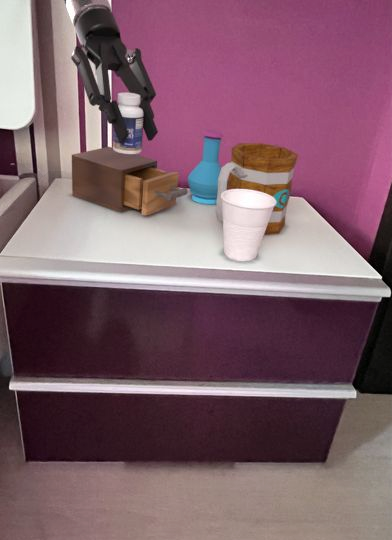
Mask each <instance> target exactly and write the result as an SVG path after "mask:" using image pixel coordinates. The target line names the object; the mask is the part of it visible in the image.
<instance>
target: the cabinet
mask: <svg viewBox="0 0 392 540" xmlns="http://www.w3.org/2000/svg"><path fill="white" fill-rule="evenodd" d="M148 167H153V168H156V169H158V160H155V159H152V158H148V157H145V156H143V155H138V154H123V153H119V152H116V151H115V150H114V149H113V146H106V147H101V148H97V149H91V150H86V151H82V152H78V153H73V154H71V188H72V189H71V194H72V196H73V197H76V198H79V199H81V200H83V201H87V202H90V203H93V204H95V205H98V206H101V207H104V208H107V209H109V210H112V211H114V212H118V213H123V212H127V211H129V210H133V208H132V207H129V206H126V205H123V204H124V174H126V173H130V172H133V171H137V170H140V169H144V168H148Z"/></svg>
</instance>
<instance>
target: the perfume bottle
mask: <svg viewBox="0 0 392 540" xmlns="http://www.w3.org/2000/svg"><path fill="white" fill-rule="evenodd" d="M202 135H203V148H202V149H203V150H202V159H201V161H200V162H199V163H198V164H197V166H195V168H194V169H193V170H192V171H191V172H190V173H189V175H188V176H187V184H188V187H189V192H190V193H191V200H192V201H194V202H196V203H199V204H202V205H216V203H217V194H218V178H219V175H220V171H221V168H222V166H221V164H220V162H219V156H220V149H221V142H222V141H223V139H222V138H224V134H223V133H222V132H221V131H219V130H215V129H206V130H205V131H203V133H202ZM228 179H229V178H228ZM228 179H227V183H228Z"/></svg>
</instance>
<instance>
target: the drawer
mask: <svg viewBox="0 0 392 540" xmlns="http://www.w3.org/2000/svg"><path fill="white" fill-rule="evenodd" d="M179 173H180V172H178V171H171V172H167V171H166V170H163V169H159V168H157V169H156V168H153V167H148V168H144V169H140V170H137V171H133V172H130V173H126V174H124V204H123V205H126V206H129V207H132V209H135V210H138V211H139V210H141V215H143V216H145V217H147V216H149V215H152V214H154V213H157V212H160V211H162V210H165V209H168V208H170V207H173V206H175V205H177V199H178V198H181V197H183V196H186V195H188V193H189V191H188V188H186V187H182V188H179V184H178V183H179Z"/></svg>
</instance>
